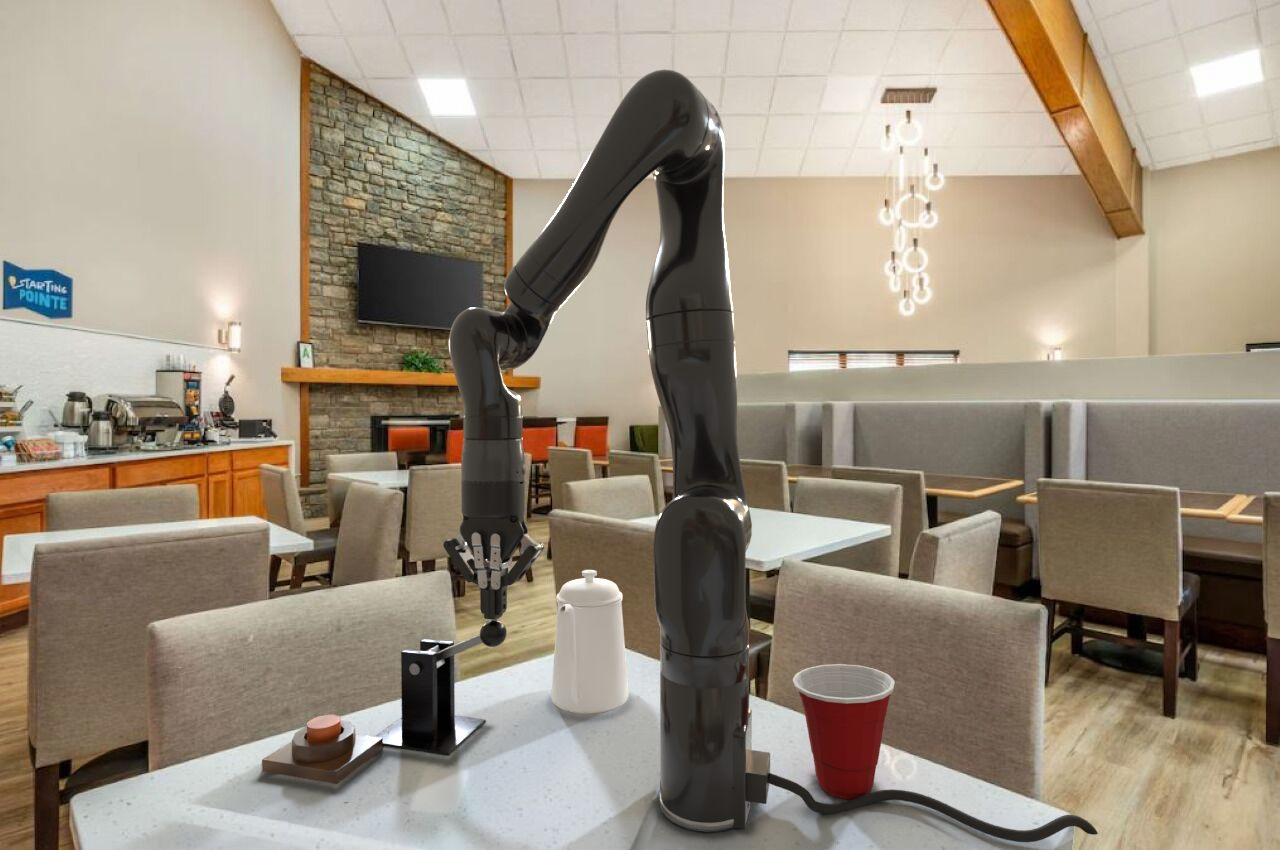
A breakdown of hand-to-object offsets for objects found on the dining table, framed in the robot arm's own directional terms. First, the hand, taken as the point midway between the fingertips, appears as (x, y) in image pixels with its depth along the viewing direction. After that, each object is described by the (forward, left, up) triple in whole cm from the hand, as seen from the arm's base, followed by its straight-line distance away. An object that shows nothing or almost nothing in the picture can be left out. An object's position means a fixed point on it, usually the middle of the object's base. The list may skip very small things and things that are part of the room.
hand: (493, 617), depth 82 cm
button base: (+17, +9, -16) cm, 25 cm away
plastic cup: (-41, -3, -16) cm, 44 cm away
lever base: (+9, 0, -16) cm, 19 cm away
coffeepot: (-7, -15, -16) cm, 23 cm away
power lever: (+4, 0, -6) cm, 7 cm away
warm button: (+17, +9, -13) cm, 23 cm away
